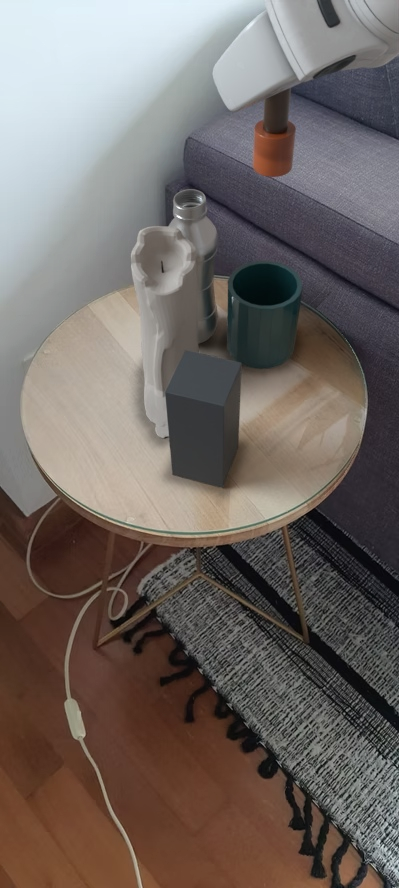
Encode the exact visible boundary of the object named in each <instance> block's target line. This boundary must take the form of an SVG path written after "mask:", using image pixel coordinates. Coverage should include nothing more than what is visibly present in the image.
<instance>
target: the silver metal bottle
mask: <svg viewBox="0 0 399 888" xmlns="http://www.w3.org/2000/svg"><path fill="white" fill-rule="evenodd" d="M172 202H173V208H172V215H173V217H174V218H173V219H172V220H171V221H170V222H169V224H168V227H175V228H178V229H179V230H180V231H181V232H182V235H183V236H184V237H185V238H186V239H187V240H189V241H190V242H191V243H192V244H193V245H194V247H195V250H196V276H197V293H198V321H197V338H198V345H199V344H202V343H204V342H207V341H208V340H209V339H210V338H211V337H212V336H213V335H214V334H215V333H216V330H217V327H218V324H219V312H218V305H217V302H216V297H215V285H214V284H215V266H216V259H217V253H218V249H219V239H220V238H219V233H218V230H217V228H216V225H214V223H213V222H212V220H211V219H210V218H209V217H208V216H207V215H208V207H207V198H206V195H205V194H204V192H202V191H201V190H198V189H194V188H193V189H192V188H191V189H189V188H187V189H182V190H181V191H179V192H177V193H176V194H175V195H174V196H173V200H172Z"/></svg>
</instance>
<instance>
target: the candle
mask: <svg viewBox="0 0 399 888" xmlns="http://www.w3.org/2000/svg"><path fill="white" fill-rule="evenodd" d="M168 226H169V225H168ZM168 226H166V225H165V226H163V225H152V226H148V227H145V228H142V229H140V230H139V231H138V234H137V238H136V243H135V245H134V247H133V248H132V250H131V253H130V262H131V265H130V269H131V270H130V271H131V275H132V281H133V285H134V290H135V291H134V292H135V295H136V296H135V297H136V300H137V306H138V312H139V321H140V341H141V342H140V345H141V346H140V347H141V349H140V350H141V359H142V368H143V369H142V371H143V377H144V387H143V403H144V408H145V409H144V410H145V415H146V417H147V418H148V420H149V421H150V422H151V423H152V424H155V429H154V430H155V433H156V436H158V437H159V438H161V439H165V438H167V437H169V431H168V420H167V408H166V397H165V391H166V389H167V387H168V385H169V383H170V381H171V379H172V376H173V374H174V372H175V370H176V368H177V366H178V364H179V362H180V360H181V358H182V356H183V354H184V352H185V350H187V351H192V352H196V353H200V348H199V344H198V338H197V321H198V293H197V276H196V250H195V247H194V245H193V244H192V243H191V242H190V241H189V240H187V239H186V238H185V237H184V236H183V235H182V232H181V231H180V230H179V229H178V228H175V227H168Z"/></svg>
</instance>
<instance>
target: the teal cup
mask: <svg viewBox="0 0 399 888" xmlns="http://www.w3.org/2000/svg"><path fill="white" fill-rule="evenodd" d="M302 294H303V281H302V278H301V277H300V275H299V274H298V272H297V271H296V270H294V269H293V268H292V267H290V266H289V265H286V264H284V263H282V262H279V261H272V260H254V261H250V262H246V263H244V264H242V265H240V266H238V267H237V268H235V269H234V270H233V271H232V272H231V273H230V275H229V277H228V279H227V302H226V304H227V305H226V309H227V310H226V348H227V351H228V353H229V355H230V356H231V358H232V359H233V360H234V361H236V362H241V363H242V366H245V367H247V368H251V369H255V370H267V369H273V368H276V367H280V366H281V365H283V364H284V363H286V362H288V361H289V359H290V358H291V357H292V356H293V354H294V352H295V348H296V346H295V345H296V342H297V333H298V327H299V317H300V309H301V302H302Z"/></svg>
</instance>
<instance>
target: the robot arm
mask: <svg viewBox="0 0 399 888" xmlns="http://www.w3.org/2000/svg"><path fill="white" fill-rule="evenodd" d="M263 3H264V7H265V9H264V10H263V11H261V12H260V13H259V14H258V15H256V16H255V17H254V18H253V19H251V21H250V22H249V23H248V24H247V25H246V26H245V27H244V28H243V29H242V30H241V31H240V32H239V33H238V35H237V36H236V37H235V38H234V40H233V41H232V42H231V43H230V44H229V46H228V47H226V49H225V51H224V52H223V53H222V54H221V56H220V57H219V58H218V59H217V61H216V62H215V64H214V66H213V68H212V78H213V82H214V85H215V87H216V90H217V92H218V94H219V96H220V99H221V100H222V102H223V103H224V105H225V107H226V108H227V109H228V111H229V112H231V113H238V112H241V111H243V110H245V109H247V108H249V107H250V106H253V105H255V104H258V103H259V102H262V101H264V99H266V98H269V97H271V96H273V95H275V94H278V93H280V92H282V91H284V90H286V89H289V88H291V89H292V88H293V87H296V86H297V85H300V84H302V83H307V82H309V81H311V80H316V79H318V78H322V77H324V76H327V75H330V74H334V73H338V72H341V71H349V70H350V71H351V70H358V69H361V68H365V69H375V68H380V67H383V66H384V65H386V64H388V63H389V62H390V61H392V60H394V59H395V58H397V57H398V56H399V0H263Z"/></svg>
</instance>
